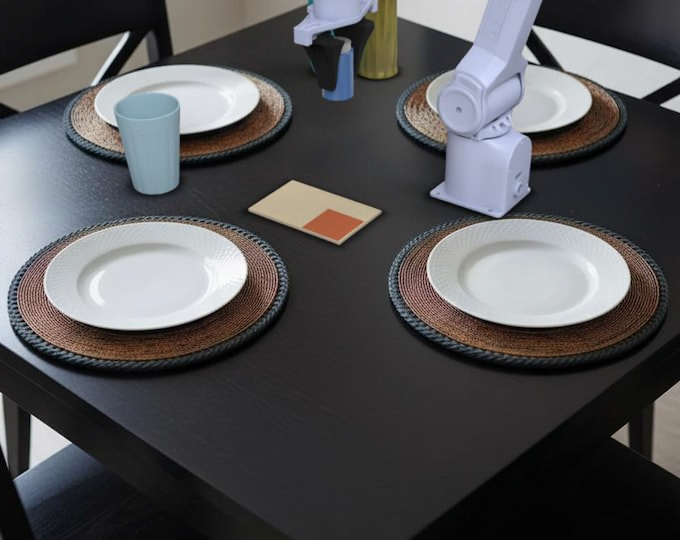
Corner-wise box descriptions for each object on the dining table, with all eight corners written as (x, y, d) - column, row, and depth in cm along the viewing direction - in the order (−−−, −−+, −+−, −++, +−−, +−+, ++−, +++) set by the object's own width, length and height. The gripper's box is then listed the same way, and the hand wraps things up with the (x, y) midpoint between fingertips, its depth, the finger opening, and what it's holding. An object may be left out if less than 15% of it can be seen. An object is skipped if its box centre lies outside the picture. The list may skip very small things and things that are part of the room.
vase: (357, 80, 153) (357, -16, 145) (356, 64, 158) (356, -30, 150) (399, 79, 153) (401, -17, 145) (396, 63, 158) (399, -30, 150)
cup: (110, 188, 127) (99, 109, 121) (153, 163, 132) (144, 86, 126) (157, 205, 123) (148, 125, 117) (200, 179, 128) (193, 101, 123)
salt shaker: (360, 92, 132) (359, 39, 128) (341, 103, 129) (340, 49, 125) (334, 85, 134) (333, 33, 130) (315, 96, 131) (314, 43, 127)
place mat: (381, 213, 121) (381, 209, 121) (339, 245, 115) (339, 241, 115) (292, 182, 127) (292, 179, 127) (248, 211, 122) (248, 207, 121)
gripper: (344, -46, 130) (345, 57, 137) (271, -15, 120) (276, 94, 128) (392, -37, 126) (390, 69, 134) (320, -4, 117) (323, 108, 124)
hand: (338, 82), depth 131 cm, fingers closed on salt shaker, 4 cm apart
